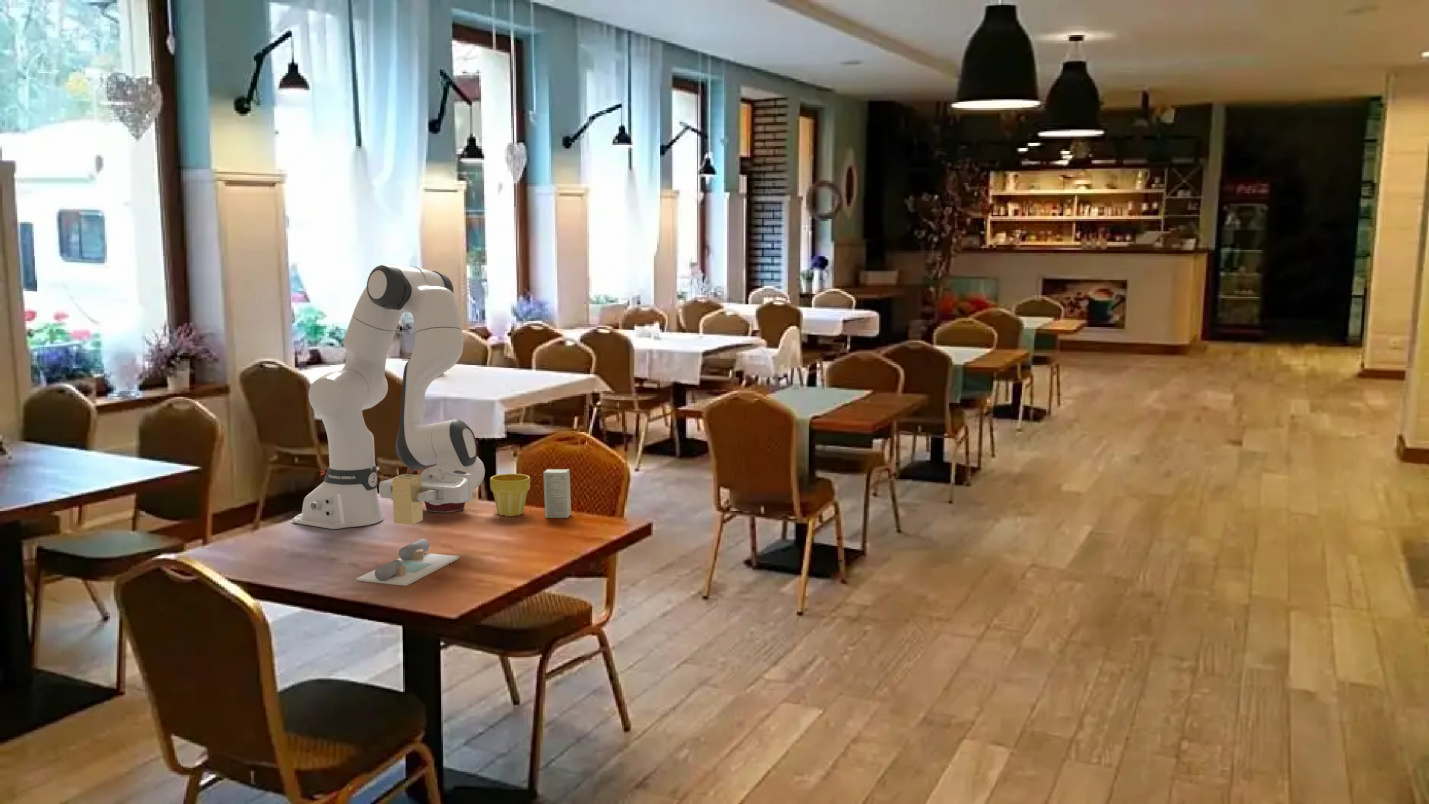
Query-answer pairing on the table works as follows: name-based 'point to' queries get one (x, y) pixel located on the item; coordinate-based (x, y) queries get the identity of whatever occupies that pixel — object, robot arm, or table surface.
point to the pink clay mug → (443, 507)
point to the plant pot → (510, 493)
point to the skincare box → (557, 493)
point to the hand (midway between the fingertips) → (405, 497)
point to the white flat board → (409, 565)
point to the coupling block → (407, 499)
